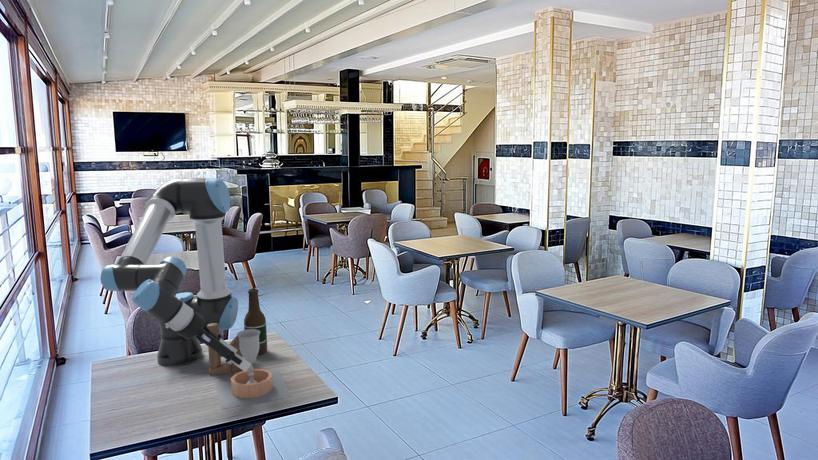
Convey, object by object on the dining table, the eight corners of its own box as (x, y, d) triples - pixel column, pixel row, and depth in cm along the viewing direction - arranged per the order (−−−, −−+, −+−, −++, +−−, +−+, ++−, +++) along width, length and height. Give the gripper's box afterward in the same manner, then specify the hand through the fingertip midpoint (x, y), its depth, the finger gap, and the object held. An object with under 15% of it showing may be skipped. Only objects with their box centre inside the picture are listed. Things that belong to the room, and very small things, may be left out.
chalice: (240, 386, 174) (236, 330, 171) (262, 382, 176) (259, 328, 173) (241, 396, 167) (237, 338, 164) (264, 392, 169) (261, 335, 166)
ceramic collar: (230, 385, 175) (229, 372, 174) (269, 378, 179) (268, 366, 179) (234, 401, 164) (233, 388, 163) (275, 393, 168) (274, 381, 168)
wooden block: (243, 375, 186) (240, 323, 183) (209, 379, 183) (205, 326, 180) (243, 371, 189) (240, 320, 186) (210, 375, 186) (206, 323, 184)
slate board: (216, 386, 177) (215, 382, 177) (279, 376, 185) (279, 371, 185) (221, 414, 159) (220, 409, 159) (291, 401, 167) (291, 396, 166)
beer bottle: (245, 357, 201) (241, 292, 198) (246, 349, 209) (242, 287, 205) (267, 355, 203) (264, 291, 200) (267, 347, 211) (264, 285, 207)
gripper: (167, 320, 167) (221, 357, 177) (185, 344, 146) (245, 385, 157) (184, 300, 169) (237, 338, 180) (205, 321, 148) (263, 363, 159)
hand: (241, 360), depth 168 cm, fingers open, 13 cm apart
